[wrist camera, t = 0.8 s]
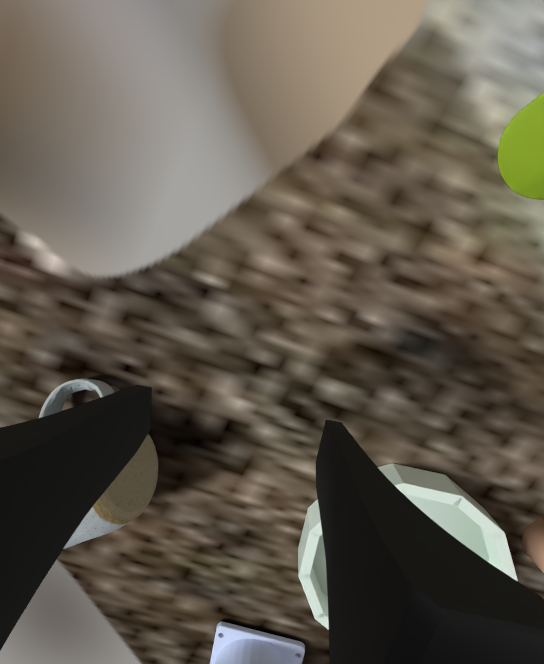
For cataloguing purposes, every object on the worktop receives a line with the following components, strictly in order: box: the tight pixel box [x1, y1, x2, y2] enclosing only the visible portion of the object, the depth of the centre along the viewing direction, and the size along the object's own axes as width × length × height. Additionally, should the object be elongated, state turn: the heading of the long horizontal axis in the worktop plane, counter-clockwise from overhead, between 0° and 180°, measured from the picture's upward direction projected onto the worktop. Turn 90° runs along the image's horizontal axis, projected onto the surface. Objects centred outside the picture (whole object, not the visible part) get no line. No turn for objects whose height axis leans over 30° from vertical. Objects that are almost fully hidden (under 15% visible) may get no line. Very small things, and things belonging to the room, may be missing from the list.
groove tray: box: [298, 463, 518, 630], centre depth 21 cm, size 15×15×2 cm
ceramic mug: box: [39, 379, 158, 549], centre depth 19 cm, size 11×8×8 cm
